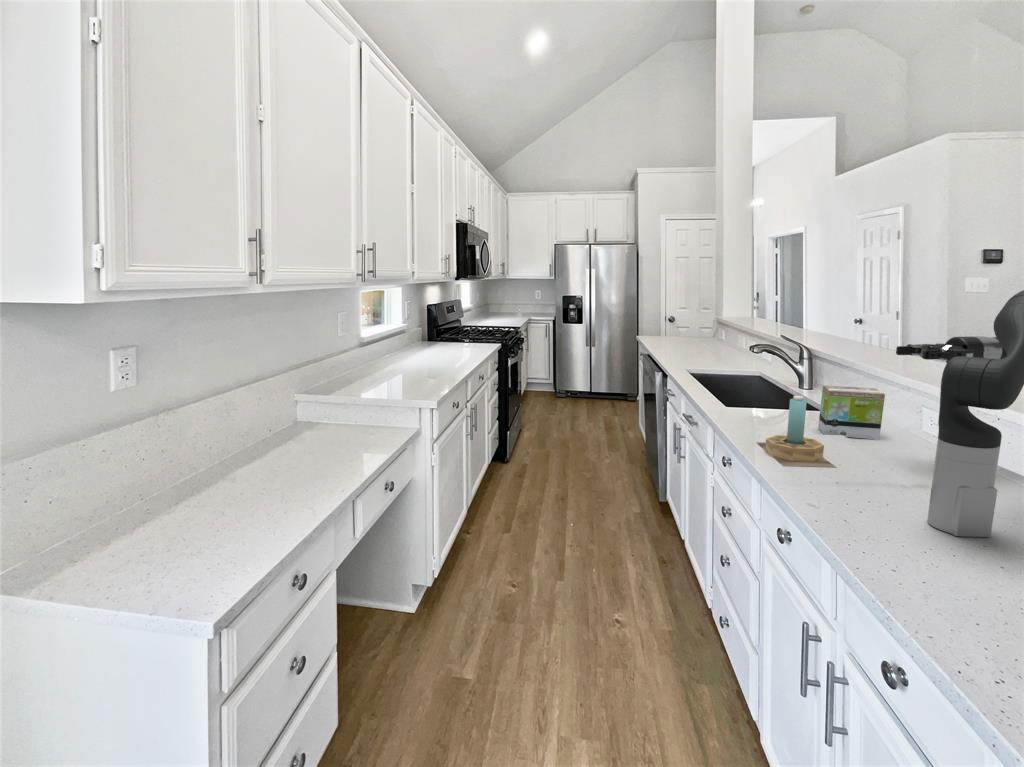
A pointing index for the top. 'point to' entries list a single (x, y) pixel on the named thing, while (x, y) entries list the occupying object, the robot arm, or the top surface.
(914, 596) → the top surface
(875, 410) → the tea box
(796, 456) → the tan octagonal ring
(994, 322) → the robot arm
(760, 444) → the board
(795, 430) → the teal bottle
